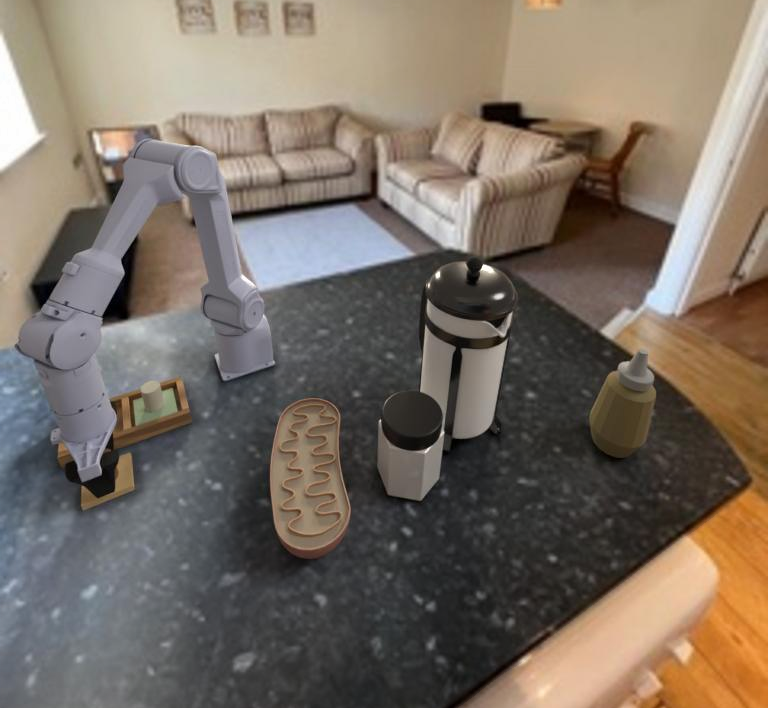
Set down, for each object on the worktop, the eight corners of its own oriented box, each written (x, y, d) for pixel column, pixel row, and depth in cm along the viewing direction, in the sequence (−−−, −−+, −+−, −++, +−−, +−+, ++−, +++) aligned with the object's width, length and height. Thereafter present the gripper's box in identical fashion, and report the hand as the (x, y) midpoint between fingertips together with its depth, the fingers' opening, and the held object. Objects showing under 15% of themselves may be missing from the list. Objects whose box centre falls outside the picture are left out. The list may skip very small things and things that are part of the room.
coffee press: (510, 399, 78) (540, 244, 65) (489, 473, 65) (522, 297, 52) (417, 368, 84) (428, 222, 72) (381, 430, 71) (386, 264, 58)
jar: (404, 438, 70) (408, 379, 65) (448, 469, 65) (456, 408, 60) (365, 477, 63) (366, 415, 58) (411, 514, 59) (416, 450, 54)
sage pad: (173, 391, 76) (168, 369, 74) (178, 416, 72) (173, 392, 69) (134, 404, 73) (127, 381, 71) (136, 430, 69) (129, 406, 67)
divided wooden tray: (65, 424, 70) (61, 413, 70) (183, 386, 79) (181, 375, 78) (61, 469, 63) (57, 458, 62) (192, 422, 71) (189, 411, 70)
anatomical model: (354, 568, 53) (354, 542, 51) (268, 584, 51) (264, 557, 49) (338, 417, 73) (337, 394, 71) (276, 425, 71) (273, 401, 69)
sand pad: (131, 456, 66) (124, 432, 63) (134, 490, 61) (126, 464, 59) (83, 474, 63) (74, 449, 61) (82, 510, 58) (72, 485, 56)
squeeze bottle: (635, 430, 72) (669, 340, 65) (644, 472, 66) (683, 377, 58) (582, 416, 75) (608, 328, 67) (585, 455, 68) (615, 362, 60)
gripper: (45, 372, 59) (72, 445, 65) (33, 455, 48) (68, 534, 53) (106, 355, 62) (127, 426, 68) (109, 429, 51) (134, 507, 57)
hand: (105, 472), depth 61 cm, fingers open, 6 cm apart
